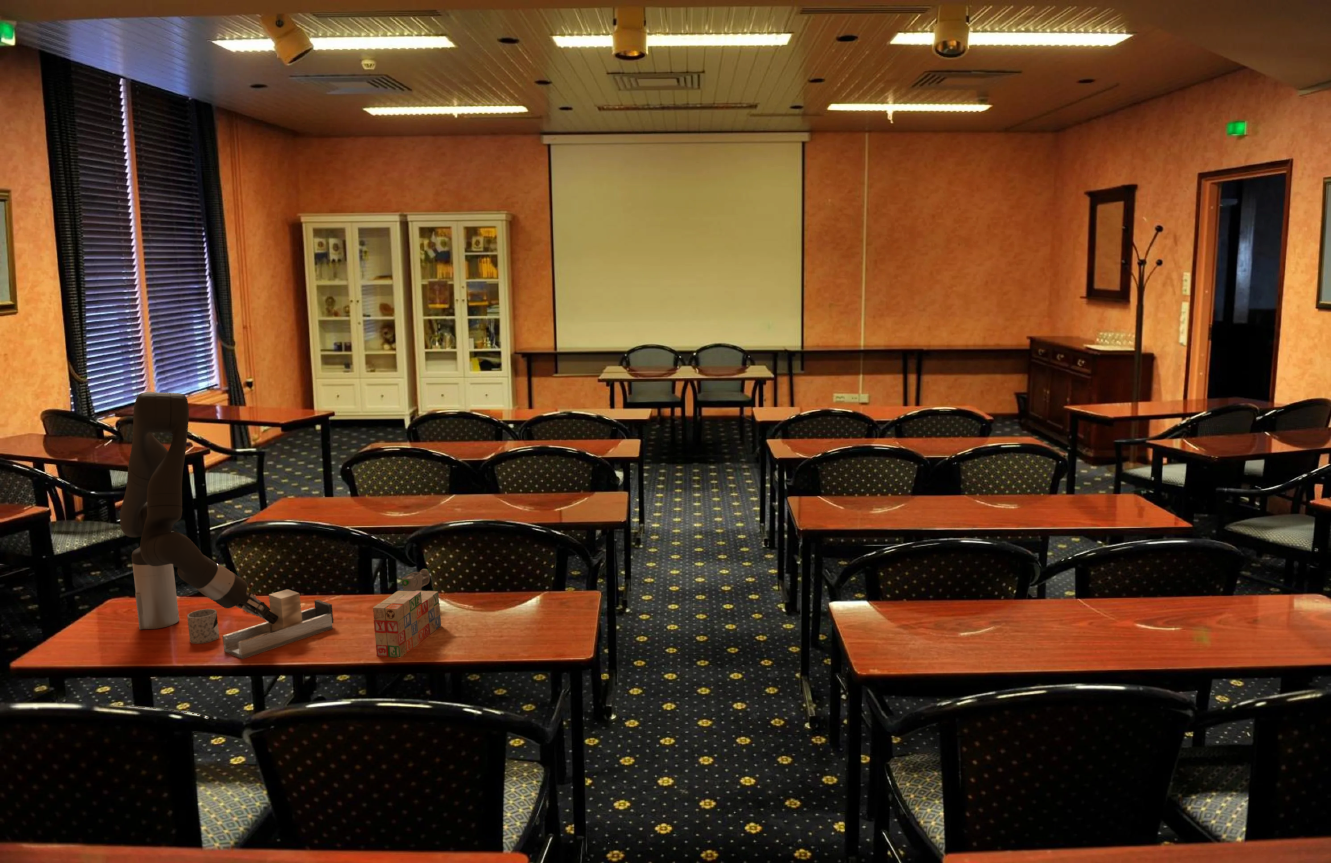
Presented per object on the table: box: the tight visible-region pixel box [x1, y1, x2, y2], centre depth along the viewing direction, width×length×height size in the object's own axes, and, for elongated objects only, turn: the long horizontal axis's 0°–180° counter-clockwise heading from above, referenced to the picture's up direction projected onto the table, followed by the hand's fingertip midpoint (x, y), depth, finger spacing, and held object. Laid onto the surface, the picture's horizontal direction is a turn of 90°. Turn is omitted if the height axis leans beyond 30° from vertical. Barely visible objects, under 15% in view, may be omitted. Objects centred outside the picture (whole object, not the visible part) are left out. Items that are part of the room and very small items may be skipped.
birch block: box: [268, 588, 302, 631], centre depth 241 cm, size 5×6×10 cm
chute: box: [222, 599, 334, 660], centre depth 240 cm, size 25×8×6 cm, turn 141°
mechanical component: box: [401, 568, 431, 591], centre depth 259 cm, size 3×10×10 cm, turn 161°
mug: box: [186, 608, 220, 645], centre depth 244 cm, size 10×7×7 cm, turn 37°
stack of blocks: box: [372, 590, 442, 658], centre depth 236 cm, size 21×6×12 cm, turn 167°
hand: (274, 620), depth 239 cm, fingers closed
